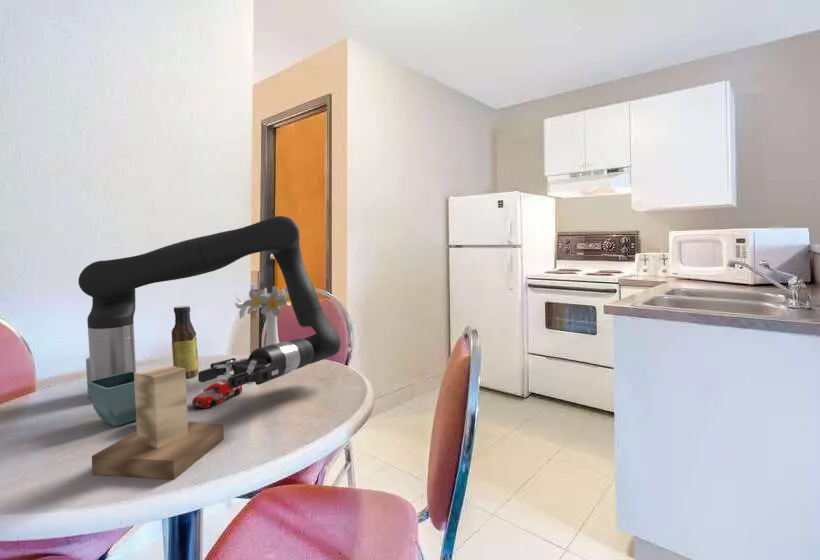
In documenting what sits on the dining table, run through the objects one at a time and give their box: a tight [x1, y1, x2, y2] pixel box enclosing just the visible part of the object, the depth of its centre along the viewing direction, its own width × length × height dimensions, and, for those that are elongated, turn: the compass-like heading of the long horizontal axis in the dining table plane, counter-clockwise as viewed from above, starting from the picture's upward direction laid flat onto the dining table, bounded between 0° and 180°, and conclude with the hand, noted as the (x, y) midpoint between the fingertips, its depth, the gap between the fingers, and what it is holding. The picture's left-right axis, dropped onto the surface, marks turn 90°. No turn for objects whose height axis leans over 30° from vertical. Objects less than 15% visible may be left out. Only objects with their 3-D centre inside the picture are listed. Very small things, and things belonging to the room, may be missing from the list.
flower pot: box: [86, 371, 136, 427], centre depth 88 cm, size 9×9×9 cm
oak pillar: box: [134, 364, 189, 448], centre depth 73 cm, size 6×6×12 cm
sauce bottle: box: [171, 305, 199, 379], centre depth 119 cm, size 6×6×20 cm
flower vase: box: [234, 285, 292, 347], centre depth 124 cm, size 13×18×25 cm
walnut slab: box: [91, 421, 225, 480], centre depth 73 cm, size 14×14×3 cm
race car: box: [191, 380, 243, 409], centre depth 101 cm, size 13×5×4 cm, turn 161°
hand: (214, 380), depth 82 cm, fingers open, 8 cm apart
